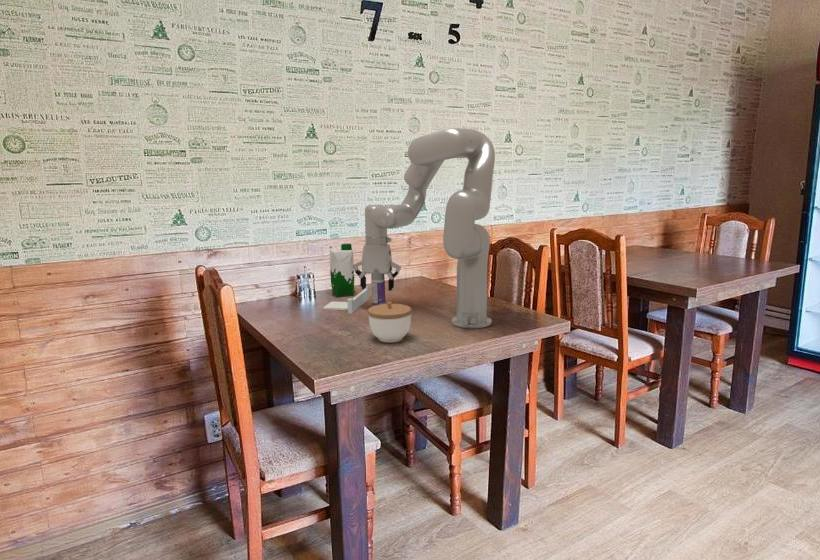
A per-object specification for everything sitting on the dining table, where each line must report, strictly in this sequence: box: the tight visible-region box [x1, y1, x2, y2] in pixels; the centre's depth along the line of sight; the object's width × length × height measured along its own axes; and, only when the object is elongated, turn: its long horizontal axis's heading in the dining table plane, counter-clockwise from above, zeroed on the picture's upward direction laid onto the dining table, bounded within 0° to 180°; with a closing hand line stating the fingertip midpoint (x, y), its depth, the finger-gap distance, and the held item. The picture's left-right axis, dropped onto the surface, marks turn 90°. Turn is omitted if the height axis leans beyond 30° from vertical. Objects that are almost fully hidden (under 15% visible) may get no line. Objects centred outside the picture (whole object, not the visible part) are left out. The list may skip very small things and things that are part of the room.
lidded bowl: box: [367, 301, 412, 344], centre depth 161 cm, size 13×13×11 cm
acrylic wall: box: [346, 285, 370, 315], centre depth 200 cm, size 22×2×5 cm, turn 168°
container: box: [370, 269, 386, 307], centre depth 194 cm, size 5×5×15 cm
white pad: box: [322, 301, 348, 311], centre depth 200 cm, size 9×9×1 cm
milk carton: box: [329, 243, 355, 298], centre depth 217 cm, size 9×9×20 cm
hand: (377, 289), depth 194 cm, fingers open, 9 cm apart
